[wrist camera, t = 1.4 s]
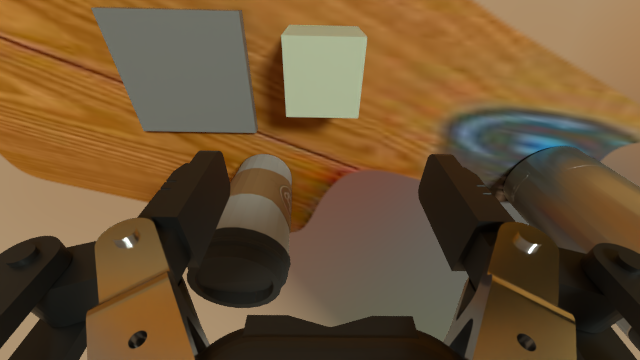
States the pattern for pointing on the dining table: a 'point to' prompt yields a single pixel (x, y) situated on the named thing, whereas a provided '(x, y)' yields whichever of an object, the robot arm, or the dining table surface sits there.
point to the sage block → (323, 70)
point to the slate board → (182, 67)
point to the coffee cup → (249, 238)
